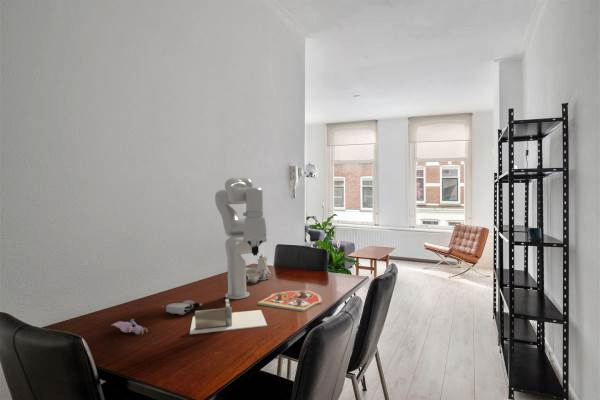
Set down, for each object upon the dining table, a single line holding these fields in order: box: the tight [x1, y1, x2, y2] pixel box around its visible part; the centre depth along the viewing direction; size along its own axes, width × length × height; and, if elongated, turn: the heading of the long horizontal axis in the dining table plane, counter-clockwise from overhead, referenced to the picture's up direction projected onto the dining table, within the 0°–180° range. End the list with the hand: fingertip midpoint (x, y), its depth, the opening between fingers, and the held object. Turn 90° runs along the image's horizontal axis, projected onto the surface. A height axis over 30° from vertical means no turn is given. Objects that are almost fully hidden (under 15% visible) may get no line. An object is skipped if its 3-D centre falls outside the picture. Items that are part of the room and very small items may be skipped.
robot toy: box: [162, 299, 203, 316], centre depth 164 cm, size 12×4×15 cm
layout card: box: [189, 309, 268, 335], centre depth 149 cm, size 20×30×1 cm, turn 103°
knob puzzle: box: [257, 289, 323, 313], centre depth 178 cm, size 29×30×4 cm
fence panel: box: [225, 298, 231, 308], centre depth 150 cm, size 12×1×7 cm, turn 14°
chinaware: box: [246, 253, 272, 284], centre depth 225 cm, size 28×17×17 cm, turn 18°
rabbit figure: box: [111, 318, 148, 336], centre depth 139 cm, size 6×6×15 cm
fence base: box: [194, 306, 233, 329], centre depth 142 cm, size 2×14×8 cm, turn 103°
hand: (255, 254), depth 161 cm, fingers closed
